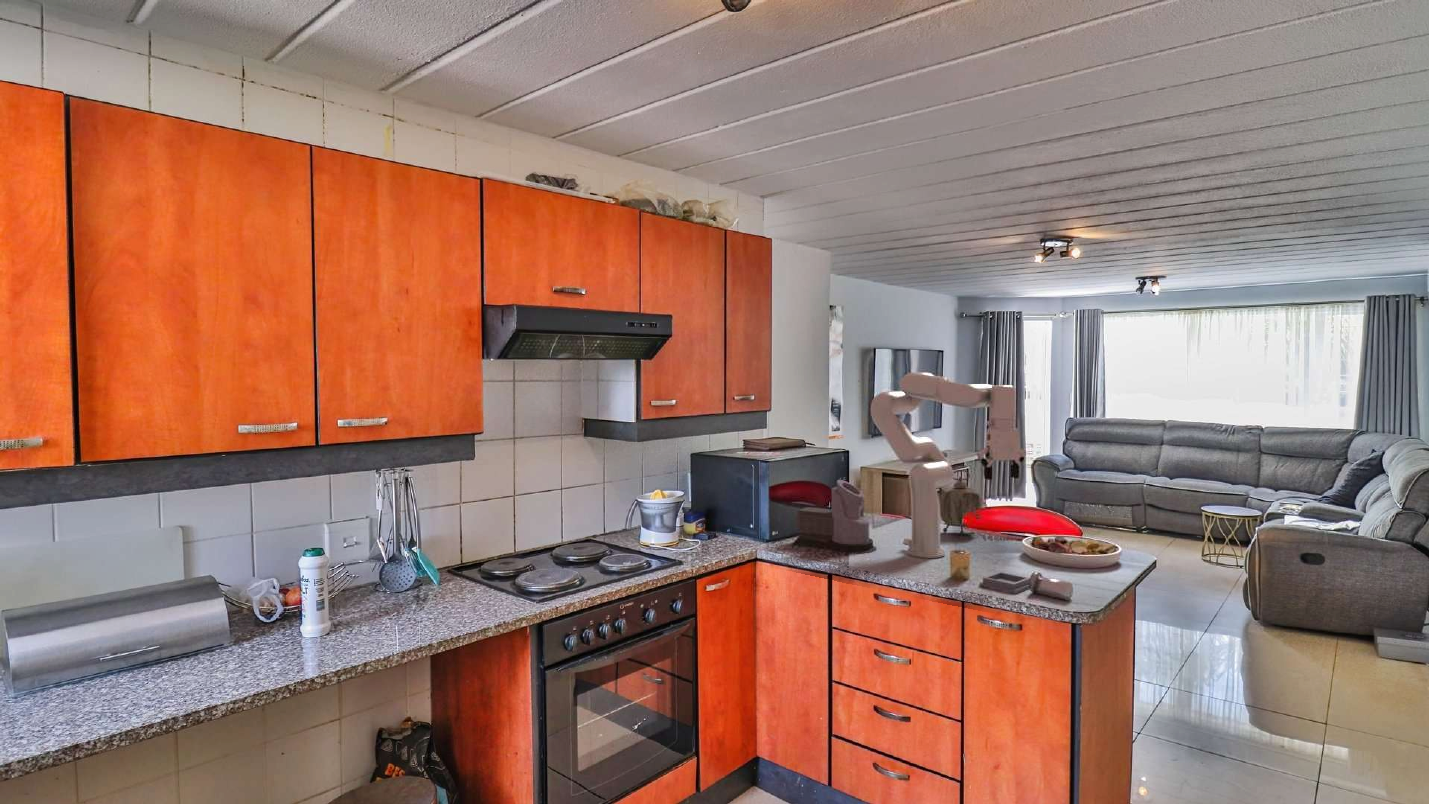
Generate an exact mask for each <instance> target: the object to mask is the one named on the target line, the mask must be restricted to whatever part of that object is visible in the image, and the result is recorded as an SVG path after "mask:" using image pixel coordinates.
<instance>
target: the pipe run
mask: <svg viewBox="0 0 1429 804" xmlns="http://www.w3.org/2000/svg"><path fill="white" fill-rule="evenodd" d="M1029 578H1030V581H1029V588H1030V589H1029V591H1030V593H1034V594H1038V595H1043V596H1047V597H1050V598H1051V597H1052V598H1055V597H1056V598H1057V599H1059V600H1060V599H1061V600H1065V601H1070V600H1071V599H1072V597H1073V593H1074V587H1073V583H1072V582H1068V581H1064V580H1058V579H1054V578H1050V577H1044V576H1043V575H1042V573H1041V572H1036V571H1034V572H1032V573H1031V575H1030V577H1029Z"/></svg>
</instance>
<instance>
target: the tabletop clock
mask: <svg viewBox="0 0 1429 804" xmlns="http://www.w3.org/2000/svg"><path fill="white" fill-rule="evenodd" d="M957 472H962V473H963V472H965V473H966V474H967V475H968V476H967V477H966V478H963V477H962V476H959V477H958V478H957V477H954V478H953V480H954V481H956V482H955V483H954V484H953V486H947V487H944V488H941V491H940V493H939V500H940V520H942V521H943V523H944V524H945V525H946V527H944V528H943V529H942V531H943V533H947V532H948V529H949V527H959V528H960V532H959V534H960V535H961V536H964V535H965V531H964V527H966V528H967V527H968V526H967V525H966V524H962V519H963V517H964V515H965V514H967V513H971V512H973V511H976V510H981V509H982V510H983V507H982V506H983V505H982V504H983V503H982V497H981V494H980V492H979V491H978V490H976V489H974V488H972V487H969V486H968V484H967V482H965V481H966V480H968V479H970V477H971V474H970V473H969V471H967V470H966V469H955V470H953V473H954V474H955V473H957ZM980 512H981V511H980ZM977 513H978V512H977ZM971 514H974V515H973V517H975V516H980V515H981V516H982V514H976V515H975V513H971ZM965 517H966V516H965ZM965 517H964V518H965ZM967 519H970V517H969V518H967ZM975 519H980V518H979V517H976V518H975Z"/></svg>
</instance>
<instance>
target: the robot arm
mask: <svg viewBox="0 0 1429 804" xmlns="http://www.w3.org/2000/svg"><path fill="white" fill-rule="evenodd" d="M899 388H900V390H888V391H882V392H880V393H878V394H876V395H875V396H874V398H873V399H872V401H871V404H870V414H871V418H872V421H873V423H874V425H875V426H876V428H877V429H878V430H879V432H880V433H881V435H882V436H883V437H884V438H885V440H886V442H887V444H888V445H889V447H890V448H891V449H892V451H893V453H894V454H895V455H896V457H897V459H898V460H899V462H901V463H902V464H904V465H906V466H907V465H914V466H912V468H911V469H910V471H909V474H908V483H909V484H908V485H909V488H910V495H911V496H910V497H911V499H910V501H911V508H910V509H911V538H907V537H905V538H904V540H903V541H902V544H903V546H904V545H905V546H908V548H907V549H906V553H907V555H909V556H910V557H916V558H922V559H937V558H943V557H944V556H946V551H945V550H944V549H942V548H941V516H940V495H939V494H938V491H937V489H938V490H939V489H944V488H947V487H950V485H952V483H953V480H954V479H953V478H955V475H954V474H955V473H953V472H954V469H953V468H952V465H951V464H950V462H949V461H948V459H947V458H946V456H945V455H944V453H943V452H942V451H941V449H940V448H939V447H938V445H937V444H936V443H935V441H933V440H932V439H931V438H929V437H928V436H914V434H912V432H911V431H910V430H909V427H908V426H907V425H906V424H905V423H904V422H903V421H902V420H901V419H900V418H898V417H897V415H905V414H909V413H912V412H913V411H915V410H916V409H917V408H918V407H920V406H921V405H922V404H924V403H925V402H927V401H928V400H929V401H934V402H938V403H941V404H945V405H948V406H953V407H959V408H964V409H965V408H966V409H975V408H988V407H989V420H987V421H986V425H987V426H989V428H987V431H986V436H985V444H984V448H983V449H981V450H979V451H978V452H976V456H977V458H978V462H979V463H980V464H981V465H982V467H983V478H984V479H985V480H989V481H990V480H993V467H992V465H993V464H994V462H1009V461H1010V462H1011V465H1010V477H1011V478H1014V479H1020V466H1021V465H1022V463H1023V462H1024V460H1025V458H1026V455H1027V454H1028V453H1027V451H1026V450H1025V449H1024V448H1022V447H1021V442H1020V435H1019V430H1018V428H1016V388H1015V386H1013V385H1012V384H1011V385H1010V384H997V385H996V384H995V385H994V384H989V383H987V384H986V383H978V384H977V383H976V384H975V383H974V384H973V383H972V384H969V383H968V384H967V383H966V384H965V383H959V382H952V381H950V380H949V378H948V377H946V376H939V375H933V374H932V373H930V372H926V371H925V372H909V373H907V374H906V373H905V374H904V375H903V376H902V378H901V379H900V382H899ZM942 556H943V557H942Z"/></svg>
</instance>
